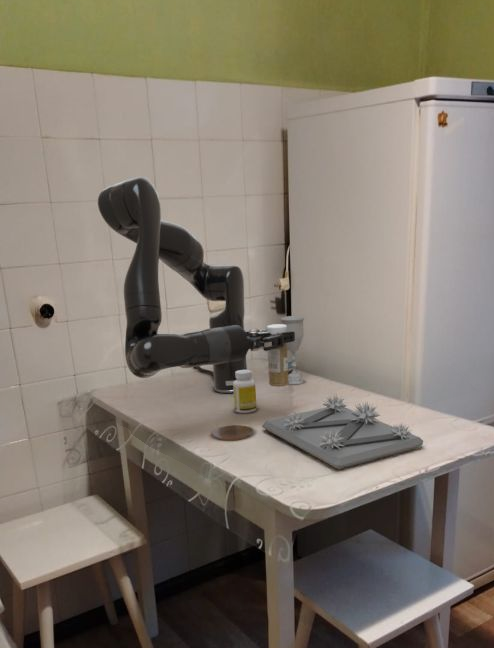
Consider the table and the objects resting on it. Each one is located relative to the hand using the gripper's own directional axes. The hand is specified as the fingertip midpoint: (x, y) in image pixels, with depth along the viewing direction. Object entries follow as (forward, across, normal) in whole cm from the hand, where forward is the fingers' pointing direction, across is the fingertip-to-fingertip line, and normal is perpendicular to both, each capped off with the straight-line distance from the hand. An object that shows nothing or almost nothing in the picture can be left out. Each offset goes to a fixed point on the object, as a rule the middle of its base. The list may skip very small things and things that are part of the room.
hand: (286, 334), depth 143 cm
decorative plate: (-1, -19, +20) cm, 27 cm away
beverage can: (+25, +39, +20) cm, 50 cm away
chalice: (+21, +27, +20) cm, 39 cm away
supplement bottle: (-4, +13, +20) cm, 24 cm away
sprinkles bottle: (-3, 0, +11) cm, 12 cm away
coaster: (-16, 0, +20) cm, 25 cm away
